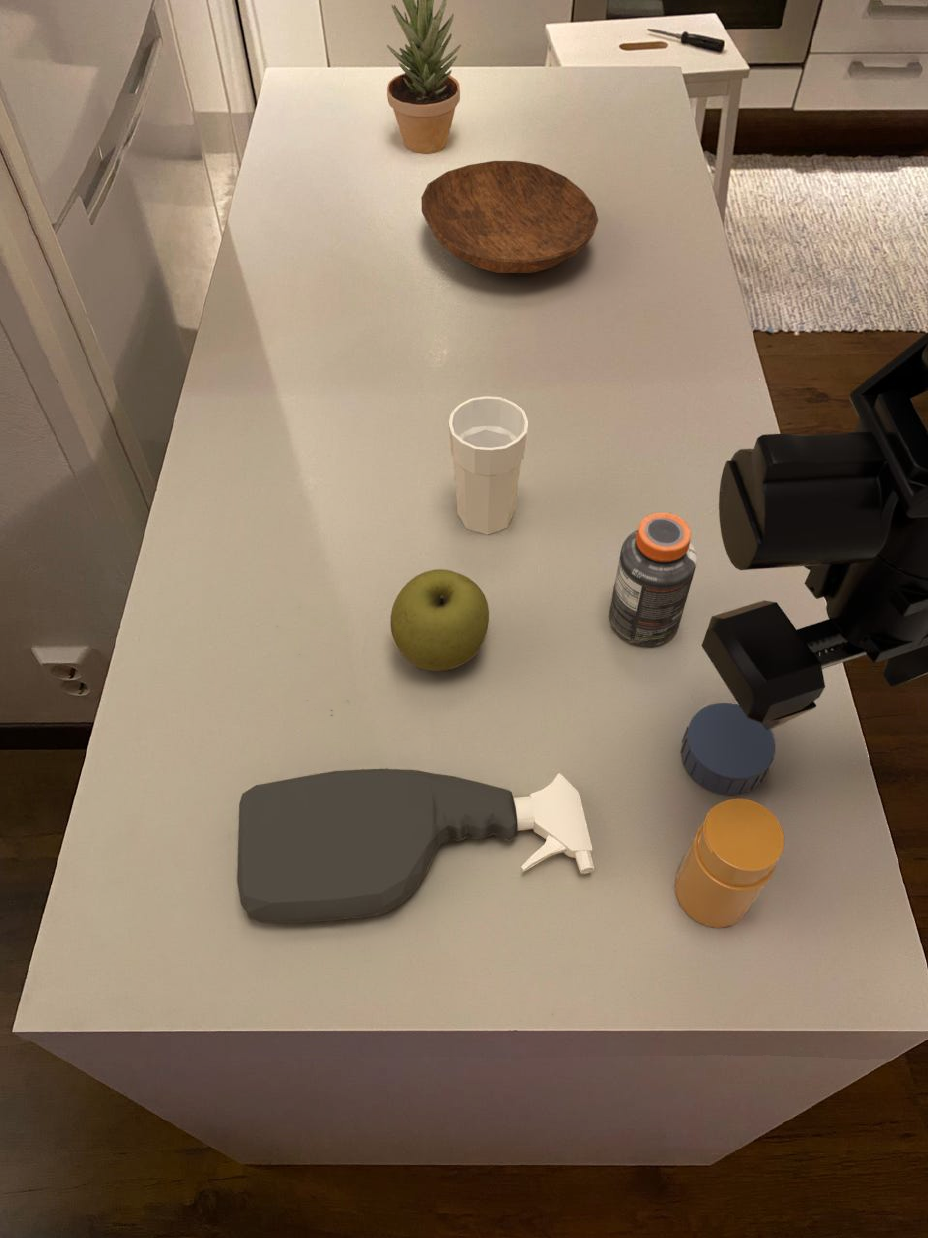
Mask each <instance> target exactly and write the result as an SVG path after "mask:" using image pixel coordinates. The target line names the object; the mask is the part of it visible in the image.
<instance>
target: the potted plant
mask: <svg viewBox="0 0 928 1238" xmlns="http://www.w3.org/2000/svg"><path fill="white" fill-rule="evenodd" d="M401 1H402V3H403V5H404V7H405V10H406V12H407V13H406V12H404V13H403V14H404V16H403V14H402V13H401V12H400V11H399V9H398V7H397V6H396V5H395V4H394V5H393V4H391V5H390V6H391V9H392V11H393V14H394V16H395V19H396V21H397V23H398V25H399V27H400V28H401V30H402V32H403V33H404V35H405V38H406V40H407V42H408V44H409V45H408V44H406V43H404V48H405V49H403V48H401V47H399V51H400V53H401V54H400V53H398V52H397V51H396V50H395V49H393V48H392V47H391V46H390V45H389V44H386V47H387V49H388V50H389V51H390V53H391V54H392V55H393V56H394V57H395V58H396V59H397V61H399V62H398V65H399V67H400V68H401V69H402V71H403V72H404V73H402V74H399V75H396V76H394V77H393V78H392V79H391V80H390V81H389V82H388V83H387V86H386V98H387V103H388V105H389V107H390V108H391V109H392V110H393V114H394V116H395V119H396V122H397V125H398V128H399V132H400V134H401V137H402V140H403V144H404V146H405V147H406V149H408V150H410V151H411V152H414V153H421V154H433V153H437V152H440V151H443V150H444V148H446V146H447V141H448V140H449V136H450V131H451V127H452V124H453V119H454V116H455V112H456V108H457V106H458V105H459V103H460V101H461V87H460V83H459V81H458V79H456V78H454V77H453V76H452V75H451V74H452V69H451V67H452V66H453V64H454V63H455V61H456V60H457V58H458V55H455V54H456V53H457V52H458V51H459V49H460V48H461V47H462V44H459V45H458V46H456V47H455V48H454V49H453V50H452V51H451V52H450V53H449V54H447V55H446V56H445V57H443V56H444V53H445V51H446V49H447V46H448V45H449V43H450V41H451V39H452V35H453V33H452V32H450V33H449V31H450V28H451V26H452V23H453V21H454V17H455V14H454V13H452V14H451V16H450V17H449V18H448V20H447V21H446V22H445V23H444V24H443V26H442V27H441V24H442V21H443V16H444V13H445V10H446V7H447V1H448V0H442V2H441V4H440V6H439V9H438V11H437V12H436V13H435V16H434V5H435V0H416V1H415V0H401ZM407 15H408V16H407ZM408 17H409V18H408ZM409 19H410V22H409ZM440 27H441V28H440ZM448 33H449V35H448V36H447V34H448ZM446 37H447V38H446ZM444 40H445V41H444ZM454 55H455V56H454ZM452 57H453V58H452ZM451 58H452V59H451ZM445 63H446V64H445ZM449 69H450V70H449Z"/></svg>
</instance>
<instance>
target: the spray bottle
mask: <svg viewBox="0 0 928 1238" xmlns="http://www.w3.org/2000/svg"><path fill="white" fill-rule="evenodd" d="M582 804H583V803H582V800H581V795H580V792H579V791H578V790H577V789H576V788H575V787H574V786H573V785H572V784H571V783H570V782H569V781H568V779H566V777H565V776H563V774H561V773H560V772H559V773H557V774H556V775H555V777H554V779H553V780H552V781H551V783H549V785H547V786H546V787H544V788H543V789H541V790H538V791H534V792H532V793H529V796H528V795H527V796H517V797H514V794H513V792H512V791H511V790H509V789H506V788H502V787H498V786H495V785H491V784H487V783H482V782H479V781H474V780H470V779H467V778H462V777H458V776H454V775H447V774H441V773H433V772H429V771H423V770H418V769H401V768H400V769H399V768H398V769H397V768H368V769H367V768H365V769H345V770H333V771H326V772H322V773H321V772H320V773H314V774H310V775H309V774H308V775H304V776H299V777H293V778H292V777H291V778H288V779H282V780H276V781H272V782H267V783H260V784H256V785H254V786H253V787H251V788H249V789H248V790H246V791H244V792H242V794H241V796H240V800H239V804H238V834H237V866H236V868H237V869H236V870H237V871H236V885H237V888H238V894H239V900H240V905H241V907H242V909H243V911H244V912H245V913H246V916H247V917H248V919H250V920H254V921H258V922H261V923H308V922H320V921H321V922H322V921H334V920H348V919H349V920H350V919H363V918H367V917H372V916H377V915H378V916H379V915H383V914H386V913H387V912H389V911H391V910H392V909H394V908H396V907H399V906H400V905H401V904H403V903H404V902H405V901H406V900H407V899H408V898H409V897H410V896H412V894H413V893H414V892H415V891H416V889H417V887H419V885H420V884H421V882H422V880H423V879H424V878H425V876H426V874H427V872H428V870H429V868H430V865H431V863H432V861H433V859H434V857H435V854H436V852H437V850H438V848H439V847H441V846H442V845H444V844H445V843H446V842H448V841H450V840H452V841H456V842H457V841H458V842H460V841H462V840H463V839H465V838H470V839H471V838H472V839H476V840H483V839H486V838H488V837H490V836H492V835H495V836H497V837H499V838H502V839H504V840H506V841H507V842H511V841H513V840H514V839H515V838H516V837H518V831H525V830H533V832H534V833H535V834H537V835H538V836H540V837H541V838H543V839H545V842H544V844H542V846H540V847H539V848H538V849H537V850H536V851H534V853H533V854H532V855H530V857H528V858H527V860H525V861H524V863H523V864H522V865H521V866H520V871H522V872H523V873H524V872H526V871H528V870H529V869H531V868H532V867H534V866H536V865H538V864H540V863H541V862H543V861H544V860H545V859H547V858H549V857H550V856H554V855H557V854H561V853H563V854H565V856H567V857H569V858H573V859H575V861H576V863H577V867H578V870H579V873H580V874H583V875H585V874H590V873H592V872H594V870H595V866H594V862H593V857H592V855H593V845H592V841H591V837H590V833H589V829H588V825H587V821H586V816H585V812H584V808H583V805H582Z"/></svg>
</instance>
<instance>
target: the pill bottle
mask: <svg viewBox="0 0 928 1238" xmlns="http://www.w3.org/2000/svg"><path fill="white" fill-rule="evenodd" d="M691 540H692V530H691V527H690V526H689V524H688V522H686V521H685V520H684V519H683V518H682V517H680V516H679V515H677V514H673V513H671V512H664V511H663V512H660V511H659V512H654V513H650V514H648V515H646V516H645V517H644V518H643V519H641V521H640V523H639V524H638V528H637V529H636V530H634V531H633V532H632V533H630V534H629V535H628V536H627V537H626V538H625V539H624V541H623V543H622V545H621V549H620V551H619V552H620V553H619V558H618V564H617V569H616V574H615V579H614V585H613V589H612V590H613V591H612V595H611V599H610V605H609V611H608V619H609V622H610V625H611V628H612V629H613V631H614V632H615V634H616V635H617V636H619V637H620V638H621V639H623V641H625V642H628V643H630V644H632V645H636V646H641V647H655V646H659V645H664V643H666V642H668V641H670V640H671V639H672V638H673V637H674V636H675V635H676V633H677V632H678V630H679V628H680V623H681V621H682V618H683V614H684V610H685V608H686V607H685V606H686V603H687V601H688V597H689V593H690V589H691V587H692V583H693V579H694V576H695V573H696V568H697V564H698V556H697V552H696V548H695V546H694V545H693V544H692V541H691Z"/></svg>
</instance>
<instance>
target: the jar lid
mask: <svg viewBox="0 0 928 1238" xmlns="http://www.w3.org/2000/svg"><path fill="white" fill-rule="evenodd" d="M681 742H682V743H681V748H680V754H681V755H680V756H681V761H682V766H683V767H684V769H685V771H686V772H687V774H688V776H689V777H690V778H691V779H692V780H693V781H694V782H695V783H696V784H697V785H698V786H699V787H701V788H703V789H705V790H706V791H709V792H711V793H714V794H717V795H722V796H740V795H743V794H747V793H748V792H750V791H753V790H754V789H755V788H756V787H758V785H759V784H761V783H762V782H763V780H764V779H765V776H766V775H767V773H768V771H769V769H770V766H771V765H772V763H773V761H774V759H775V758H774V757H775V754H776V739H775V737H774V733H773V732H772V729H771V730H766V729H765V728H764V726H763V725H762V723H760V722H757V721H754V720H752V719H749V718H747V717H746V715H745V714H744V712H743V711H742V709H741V707H740V706H739V704H738V703H732V702H718V703H713V704H709V705H707V706H704V707H703V708H701V709H699V711H697V712H696V713H695V715H694V716H692V718H691V720H690V722H689V725H688V726H687V727H686V730H685V732H684V735H683V738H682V740H681Z"/></svg>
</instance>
